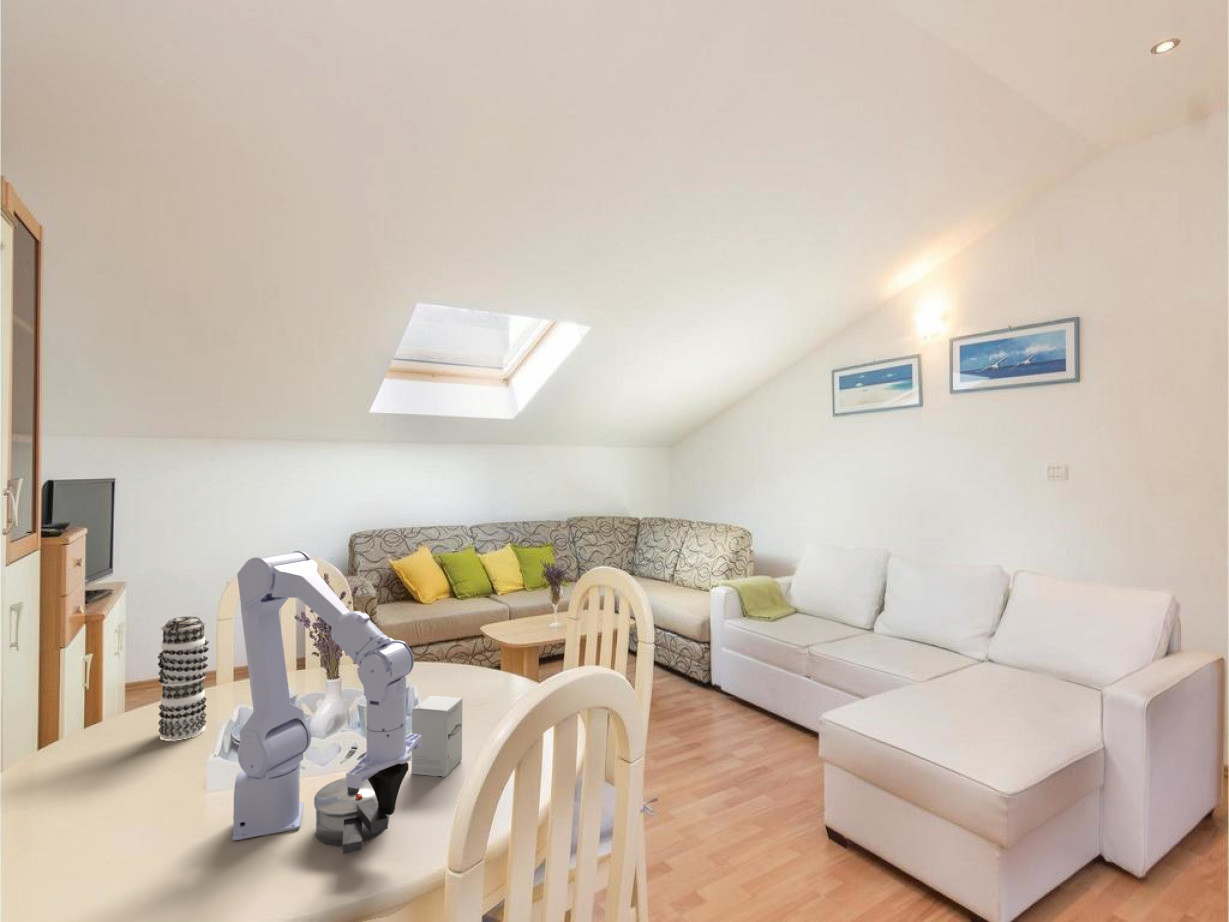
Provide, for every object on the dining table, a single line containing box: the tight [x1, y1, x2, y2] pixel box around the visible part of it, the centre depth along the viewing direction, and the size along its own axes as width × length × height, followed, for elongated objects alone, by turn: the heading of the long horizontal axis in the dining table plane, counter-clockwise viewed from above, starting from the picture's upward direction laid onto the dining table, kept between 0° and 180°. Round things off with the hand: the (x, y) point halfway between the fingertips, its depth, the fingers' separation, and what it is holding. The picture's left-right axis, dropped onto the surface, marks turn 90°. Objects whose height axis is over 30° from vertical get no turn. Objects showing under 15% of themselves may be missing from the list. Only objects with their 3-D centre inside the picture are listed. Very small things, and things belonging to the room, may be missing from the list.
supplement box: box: [410, 695, 463, 778], centre depth 124 cm, size 7×7×13 cm
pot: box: [315, 809, 390, 855], centre depth 101 cm, size 11×18×4 cm, turn 22°
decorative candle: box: [157, 615, 210, 740], centre depth 139 cm, size 9×9×25 cm
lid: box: [313, 776, 389, 834], centre depth 101 cm, size 18×12×2 cm, turn 39°
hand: (386, 813), depth 98 cm, fingers closed, pressing on lid
